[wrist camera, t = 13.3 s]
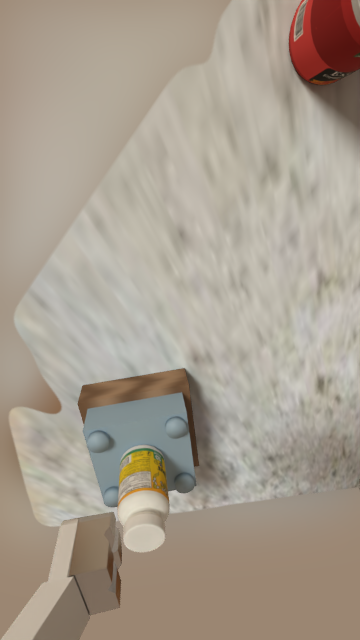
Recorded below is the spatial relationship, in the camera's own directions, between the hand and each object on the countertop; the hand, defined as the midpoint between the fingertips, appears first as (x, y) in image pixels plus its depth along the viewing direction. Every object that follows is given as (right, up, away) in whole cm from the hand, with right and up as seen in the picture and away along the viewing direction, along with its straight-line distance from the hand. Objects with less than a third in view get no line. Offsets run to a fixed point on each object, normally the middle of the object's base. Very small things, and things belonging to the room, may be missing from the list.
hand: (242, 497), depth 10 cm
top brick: (-7, -10, +33) cm, 35 cm away
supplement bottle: (-7, -11, +29) cm, 32 cm away
